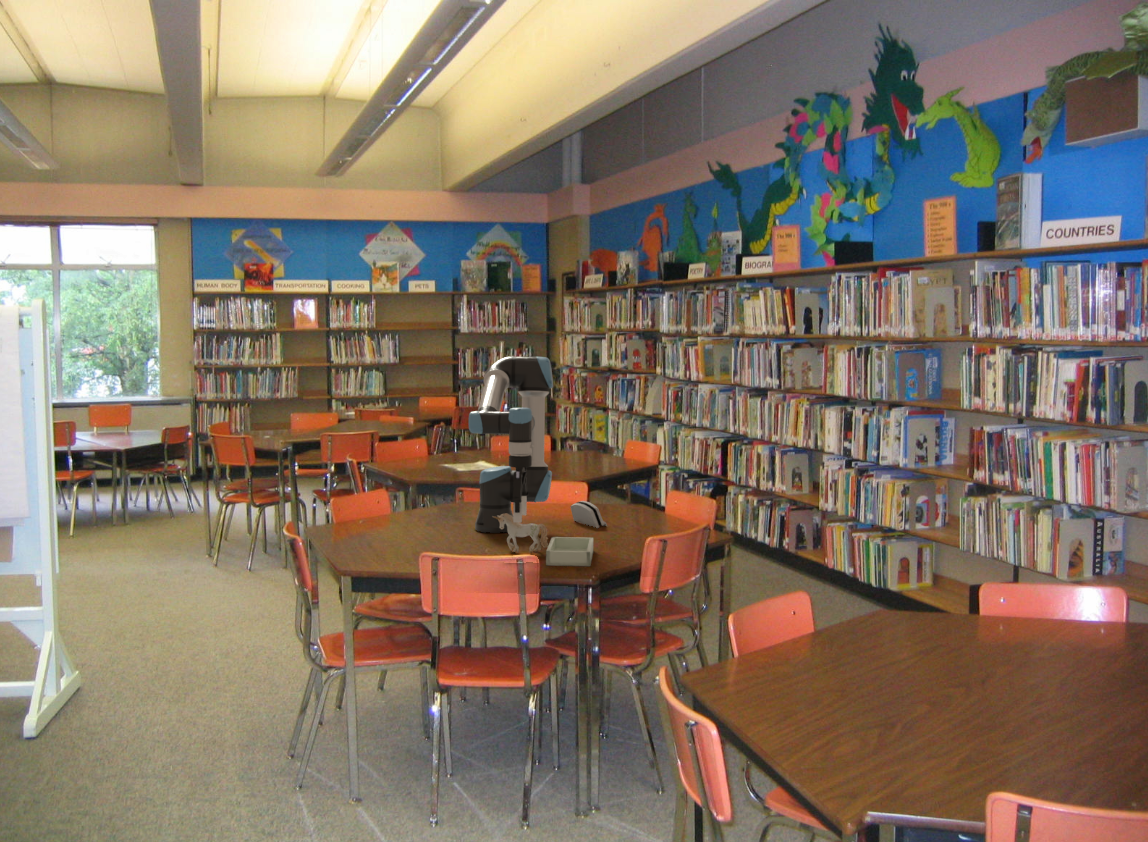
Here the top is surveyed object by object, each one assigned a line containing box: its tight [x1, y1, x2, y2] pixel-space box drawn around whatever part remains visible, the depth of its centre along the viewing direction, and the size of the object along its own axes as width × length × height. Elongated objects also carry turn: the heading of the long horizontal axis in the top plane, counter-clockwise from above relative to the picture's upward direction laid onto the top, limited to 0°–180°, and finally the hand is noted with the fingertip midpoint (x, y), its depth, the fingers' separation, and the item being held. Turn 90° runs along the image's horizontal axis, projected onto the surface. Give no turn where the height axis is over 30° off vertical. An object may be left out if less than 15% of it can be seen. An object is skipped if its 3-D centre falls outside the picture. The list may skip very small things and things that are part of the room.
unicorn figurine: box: [492, 513, 549, 554], centre depth 325 cm, size 7×20×13 cm, turn 104°
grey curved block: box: [570, 500, 608, 529], centre depth 374 cm, size 17×5×10 cm, turn 32°
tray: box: [545, 536, 594, 567], centre depth 317 cm, size 14×22×4 cm, turn 176°
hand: (520, 518), depth 321 cm, fingers open, 13 cm apart
